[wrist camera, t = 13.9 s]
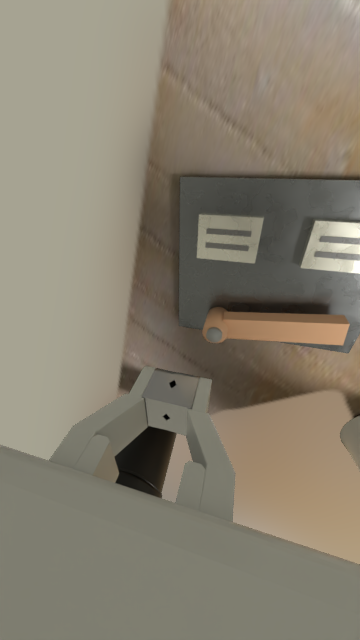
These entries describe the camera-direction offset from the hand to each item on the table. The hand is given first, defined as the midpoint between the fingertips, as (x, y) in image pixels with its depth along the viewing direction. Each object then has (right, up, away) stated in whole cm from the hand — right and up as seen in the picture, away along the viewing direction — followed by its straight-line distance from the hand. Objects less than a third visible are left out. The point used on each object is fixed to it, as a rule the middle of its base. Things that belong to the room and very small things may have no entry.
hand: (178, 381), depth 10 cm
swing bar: (+12, +3, +21) cm, 24 cm away
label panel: (+12, +9, +19) cm, 24 cm away
